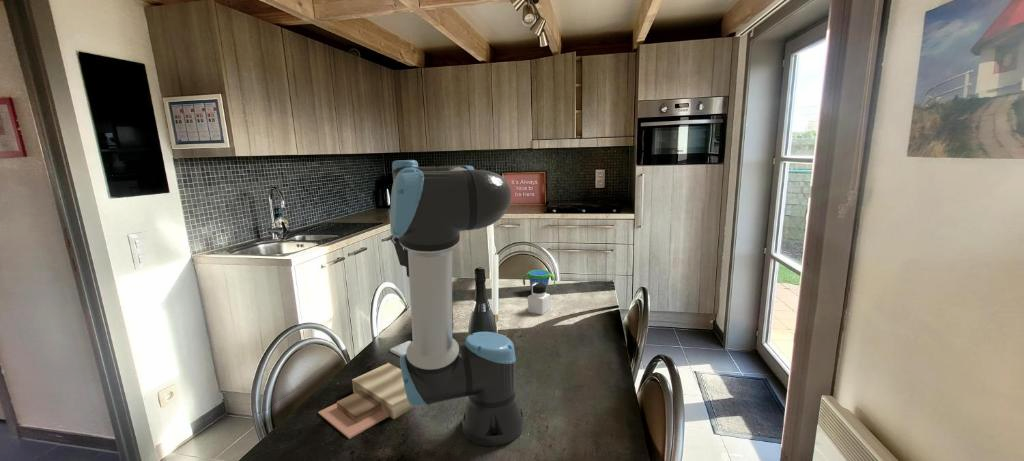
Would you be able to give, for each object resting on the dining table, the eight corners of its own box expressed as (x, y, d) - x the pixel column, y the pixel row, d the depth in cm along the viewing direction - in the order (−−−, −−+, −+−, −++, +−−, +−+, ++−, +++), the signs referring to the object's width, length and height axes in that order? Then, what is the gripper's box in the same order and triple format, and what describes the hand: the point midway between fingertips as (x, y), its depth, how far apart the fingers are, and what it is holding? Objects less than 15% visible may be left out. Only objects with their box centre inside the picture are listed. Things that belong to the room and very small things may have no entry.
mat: (389, 416, 106) (389, 414, 106) (349, 439, 98) (349, 437, 98) (357, 394, 116) (356, 393, 116) (318, 413, 108) (318, 411, 108)
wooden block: (381, 410, 108) (380, 403, 108) (356, 423, 103) (355, 416, 103) (361, 396, 115) (360, 390, 114) (337, 408, 109) (336, 401, 109)
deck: (430, 397, 114) (429, 384, 113) (393, 419, 105) (392, 405, 104) (389, 374, 127) (388, 362, 126) (353, 392, 118) (352, 379, 117)
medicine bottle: (550, 309, 176) (550, 282, 174) (542, 315, 170) (542, 287, 168) (536, 306, 180) (535, 280, 178) (527, 312, 174) (527, 285, 172)
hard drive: (389, 348, 142) (411, 359, 134) (409, 340, 148) (431, 349, 140) (390, 353, 142) (411, 363, 134) (409, 344, 148) (431, 354, 140)
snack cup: (557, 290, 201) (557, 270, 199) (552, 297, 191) (551, 276, 189) (527, 287, 206) (526, 268, 204) (520, 294, 196) (520, 274, 195)
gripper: (418, 208, 131) (423, 279, 135) (382, 213, 121) (389, 289, 126) (433, 209, 126) (438, 283, 131) (397, 215, 117) (403, 294, 121)
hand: (414, 286), depth 128 cm, fingers closed
